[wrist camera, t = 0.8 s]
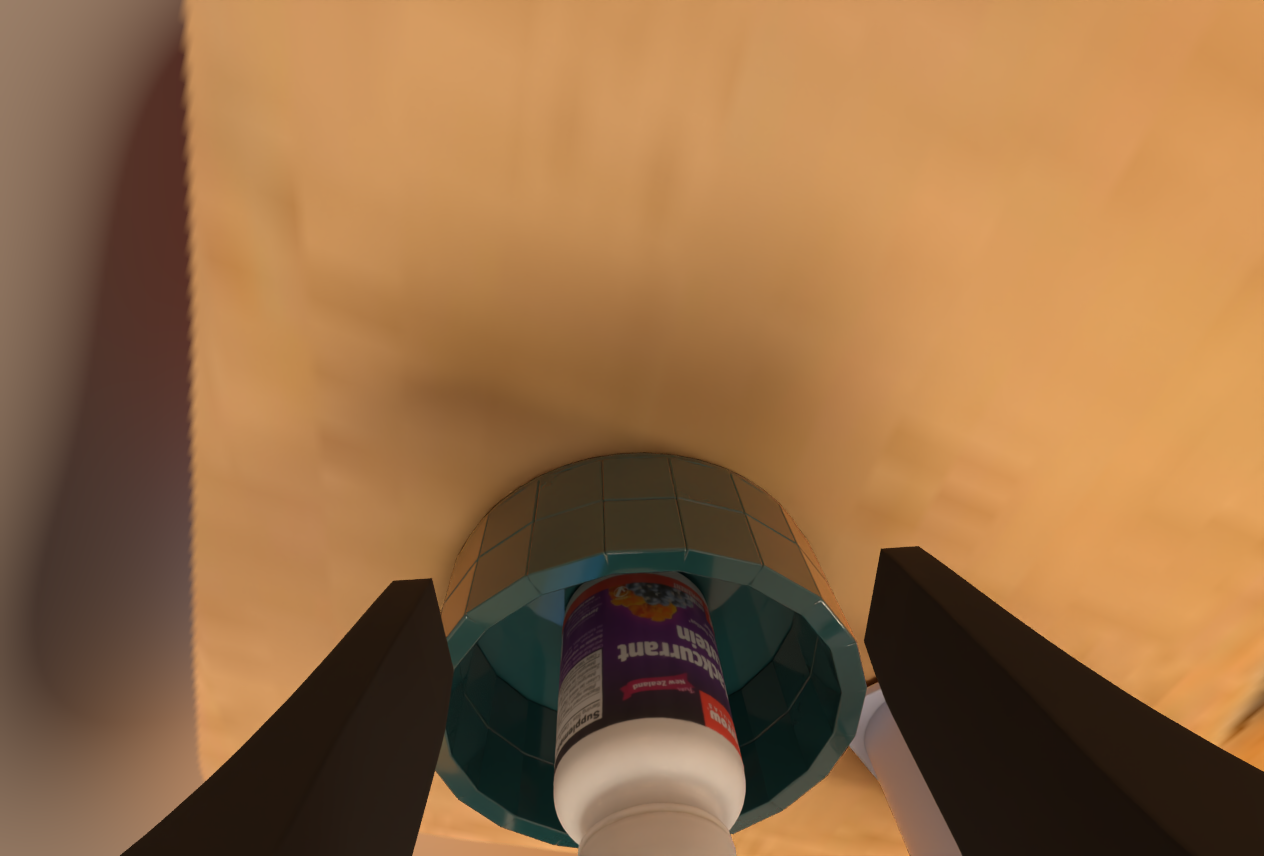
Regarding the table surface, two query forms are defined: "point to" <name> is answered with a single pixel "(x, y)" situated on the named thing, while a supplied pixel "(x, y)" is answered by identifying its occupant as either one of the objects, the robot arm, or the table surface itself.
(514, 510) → the pot
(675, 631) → the pill bottle
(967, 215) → the table surface
